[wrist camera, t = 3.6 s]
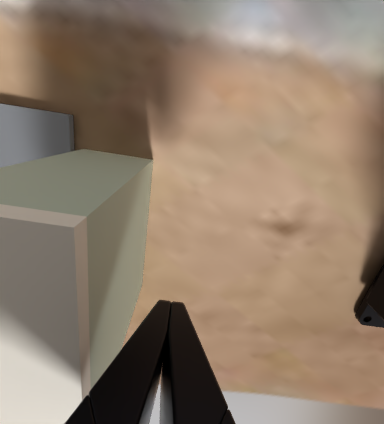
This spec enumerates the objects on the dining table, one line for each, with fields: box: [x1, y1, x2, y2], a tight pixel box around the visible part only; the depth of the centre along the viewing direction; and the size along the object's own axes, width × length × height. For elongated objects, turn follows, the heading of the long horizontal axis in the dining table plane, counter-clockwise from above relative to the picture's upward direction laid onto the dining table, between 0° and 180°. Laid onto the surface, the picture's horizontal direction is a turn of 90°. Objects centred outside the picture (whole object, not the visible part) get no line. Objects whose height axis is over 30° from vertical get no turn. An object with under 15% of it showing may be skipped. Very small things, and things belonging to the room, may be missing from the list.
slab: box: [0, 149, 153, 424], centre depth 9 cm, size 4×8×8 cm, turn 171°
